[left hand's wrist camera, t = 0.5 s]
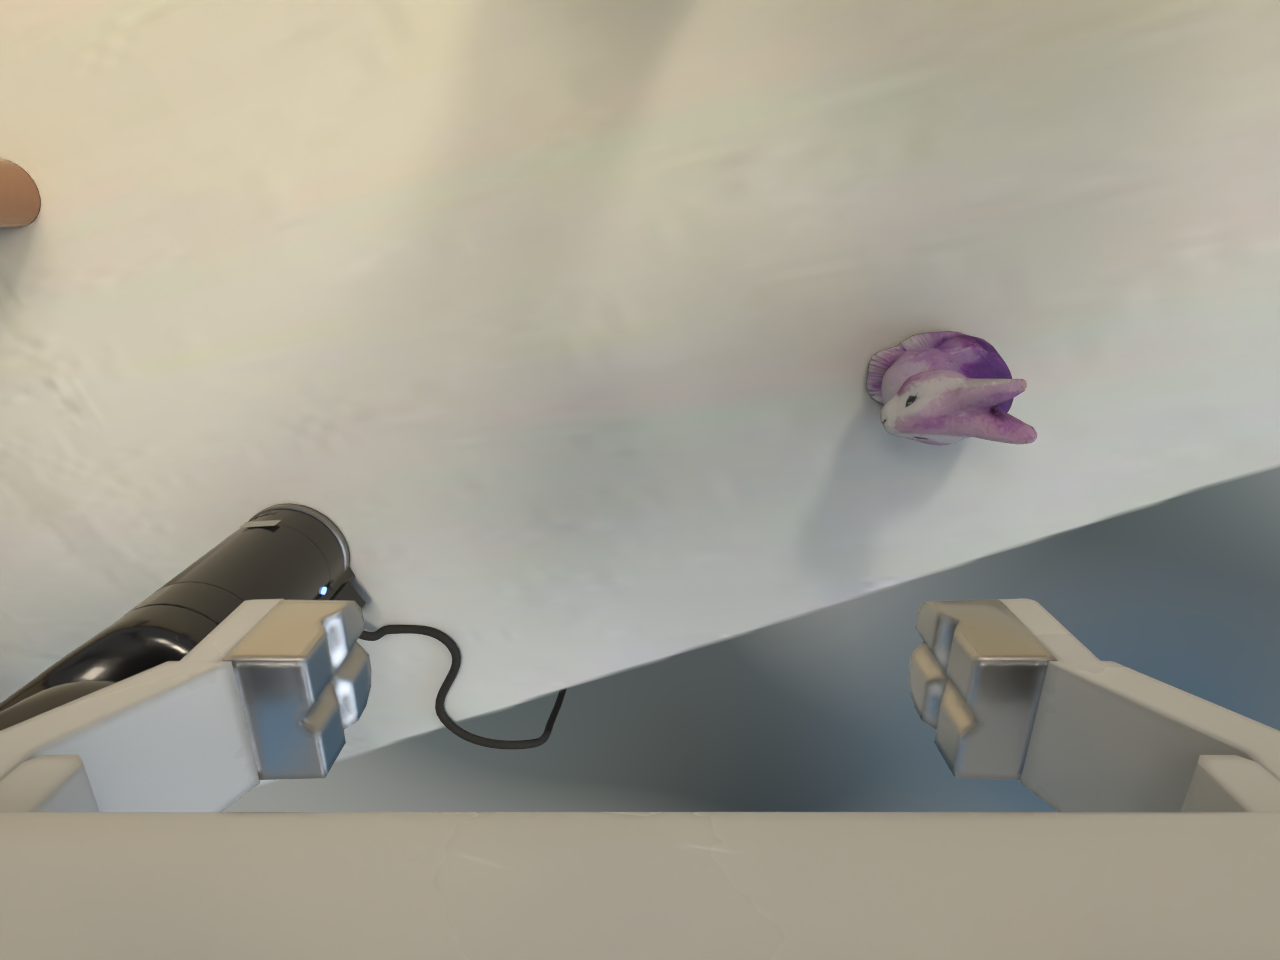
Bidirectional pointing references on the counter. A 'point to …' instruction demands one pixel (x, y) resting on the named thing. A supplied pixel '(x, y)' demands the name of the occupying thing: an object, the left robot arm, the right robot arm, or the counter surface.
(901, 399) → the figurine
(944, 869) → the left robot arm
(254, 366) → the counter surface
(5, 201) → the jar
